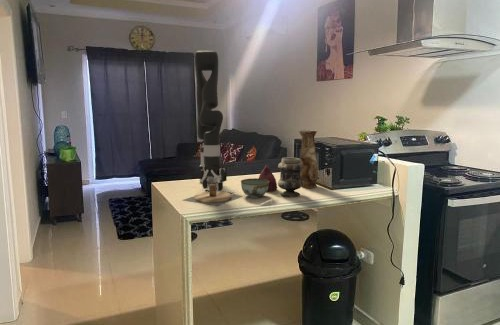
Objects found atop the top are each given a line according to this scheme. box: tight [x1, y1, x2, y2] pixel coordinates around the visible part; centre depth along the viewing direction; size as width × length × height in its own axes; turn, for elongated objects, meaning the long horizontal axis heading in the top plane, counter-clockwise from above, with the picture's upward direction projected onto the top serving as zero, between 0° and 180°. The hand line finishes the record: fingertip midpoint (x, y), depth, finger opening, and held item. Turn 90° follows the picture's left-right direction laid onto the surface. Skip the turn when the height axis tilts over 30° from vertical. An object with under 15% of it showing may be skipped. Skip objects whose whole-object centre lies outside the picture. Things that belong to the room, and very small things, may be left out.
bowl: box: [240, 177, 270, 199], centre depth 181 cm, size 14×13×8 cm
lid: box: [194, 183, 232, 203], centre depth 177 cm, size 17×17×6 cm
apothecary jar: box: [277, 157, 303, 198], centre depth 185 cm, size 12×12×18 cm
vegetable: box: [258, 164, 278, 193], centre depth 195 cm, size 10×10×15 cm
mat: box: [182, 194, 244, 207], centre depth 178 cm, size 20×20×1 cm
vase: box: [298, 129, 319, 189], centre depth 202 cm, size 10×11×30 cm
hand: (212, 189), depth 177 cm, fingers open, 8 cm apart
